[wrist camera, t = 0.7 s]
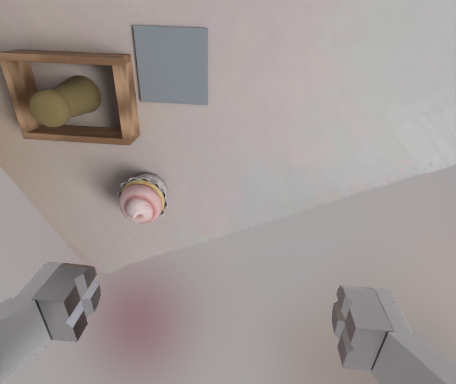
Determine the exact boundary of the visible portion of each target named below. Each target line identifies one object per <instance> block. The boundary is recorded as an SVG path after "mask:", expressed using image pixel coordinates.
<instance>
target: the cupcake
mask: <svg viewBox="0 0 456 384" xmlns="http://www.w3.org/2000/svg"><path fill="white" fill-rule="evenodd" d="M166 194H167V188H166V185H165V183H164V181H163V180H162V179H161V178H160V177H158V176H157V175H154V174H150V173H145V174H141V175H139V176H137V177H134V178H130V179H129V180H128V182H124V183H121V190H120V191H119V192H118V193H117V196H118V197H119V198H120V200H119V206H120V210H121V212H122V213H123V215H124V216H125V217H126V218H127V219H129V220H131V221H134V222H139V223H150V222H152V221H155V220H156V219H157V218H158V217H159V216H164V209H166V208H167V207H168V206H169V205H168V202H167V199H166Z"/></svg>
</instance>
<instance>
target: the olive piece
mask: <svg viewBox="0 0 456 384" xmlns="http://www.w3.org/2000/svg"><path fill="white" fill-rule="evenodd" d="M100 102H101V95H100V91H99V89H98V87H97V86H96V85H95V83H94V82H93V81H91V80H90V79H89V78H87V77H84V76H74V77H71V78H70V79H68V80H67V81H65V82H64V83H62V84H61V85H59V86H58V87H56V88H54V89H53V90H48V89H44V90H41V91H37V92H36V93H35V94H34V95H33V96H32V97H31V99H30V104H29V108H30V112H31V114H32V116H33V117H34V118H35V119H36V121H38V122H39V123H40V124H42V125H45V126H47V127H59V126H62V125H63V124H65V123H66V122H67V121H68V120H69V118H70V117H74V116H78V115H82V114H85V113H89V112H93V111H95V110H96V109H98V107H99V105H100Z"/></svg>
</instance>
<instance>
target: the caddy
mask: <svg viewBox="0 0 456 384" xmlns="http://www.w3.org/2000/svg"><path fill="white" fill-rule="evenodd" d="M30 62H48V63H69V64H91V65H112V69H113V76H114V82H115V89H116V96H117V103H118V110H119V117H120V124H121V128H105V127H88V126H72V125H62V126H59V127H47V126H45V125H42V124H40V123H39V122H38V121H36V119H35V118H34V117H33V116H32V114H31V112H30V108H29V104H30V99H31V97H32V96H33V95H34V94H35V93H36V92H37V88H36V85H35V81H34V77H33V73H32V70H31V66H30ZM0 65H1V68H2V71H3V74H4V78H5V81H6V84H7V87H8V90H9V94H10V97H11V100H12V103H13V106H14V110H15V113H16V116H17V119H18V122H19V125H20V129H21V132H22V135H23V138H24V139H39V140H54V141H70V142H86V143H101V144H117V145H130V144H131V143H132V142H134V141H135V140H136V139H137V138H138V137H139V136H140V130H139V121H138V113H137V104H136V95H135V87H134V78H133V69H132V61H131V55H129V54H107V53H85V52H62V51H40V50H14V51H6V52H0Z"/></svg>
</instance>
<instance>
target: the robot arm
mask: <svg viewBox="0 0 456 384" xmlns="http://www.w3.org/2000/svg"><path fill="white" fill-rule="evenodd" d="M96 275H97V273H96V270H95V267H93V266H88V265H78V264H69V263H56V262H48V263H46V264H45V265H44V266H43V267H42V268H41V269H40V270H39V271H38V272H37V274H36V275H35V276H34V277H33V278H32V279H31V281H29V283H28V284H27V285H26V286H25V287H24V288H23V289H22V290H21V292H20V293H19V294H18V295H17V296H16V297H15V298H9V299H7V300H5V301H4V302H2V303H0V383H1V382H2V381H3V380H5V379H6V378H7V377H8V376H9V375H11V374H12V373H13V372H14V371H16V370H17V369H18V368H19V367H21V366H22V365H23V364H24V363H26V362H27V361H28V360H29V359H31V358H32V357H33V356H34V355H36V354H37V353H38V352H39V351H40V350H42V349H43V348H44V347H45V346H47V345H48V344H49V343H50V342H51V340H60V341H61V340H62V341H75V342H77V341H78V340H79V338H80V336H81V335H82V333H83V331H84V329H85V327H86V326H87V324H88V323H87V318H86V317H88V316H89V315H91V314H92V313H93V312H95V310H96V308H97V306H98V304H99V300H100V296H101V295H100V294H101V289H100V285H99V283H98V282H97V281H96V280H94V278H95V277H96ZM337 297H338V301H337V302H336V303H334V305H333V310H332V325H333V330H334V334H335V335H336V336H337V337H338V338H339V339H340V340H339V343H338V351H339V355H340V359H341V363H342V367H343V368H351V369H359V370H366V371H372V372H371V373H372V374H373V375H374V377H375V378H376V379H377V380H378V382H379V383H380V384H456V365H455V364H454V363H453V362H451V361H450V360H449V359H448V358H446V357H445V356H444V355H443V354H442V353H440V352H439V351H438V350H436V349H435V348H434V347H433V346H432V345H431V344H429V343H428V342H427V341H426V340H425V339H423V338H422V337H421V336H420V335H418V334H413V332H412V330H411V329H410V326H409V325H408V322H407V320H406V319H405V317H404V315H403V313H402V311H401V309H400V307H399V305H398V303H397V301H396V299H395V297H394V295H393V293H392V291H391V290H390V289H384V288H369V287H355V286H341V285H340V287H339V288H338V290H337Z"/></svg>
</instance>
